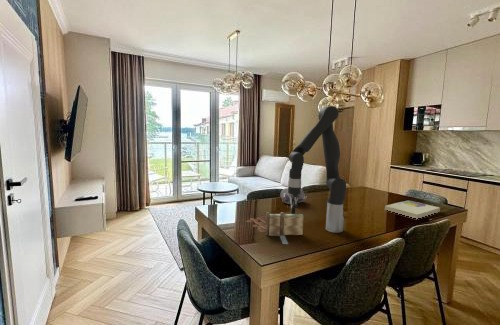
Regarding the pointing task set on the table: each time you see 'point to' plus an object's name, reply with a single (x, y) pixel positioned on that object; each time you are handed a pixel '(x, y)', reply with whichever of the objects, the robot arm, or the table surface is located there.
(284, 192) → the toy elephant
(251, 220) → the decorative fence
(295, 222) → the gate panel
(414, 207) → the puzzle box
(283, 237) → the card
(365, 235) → the table surface
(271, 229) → the fixed leg
